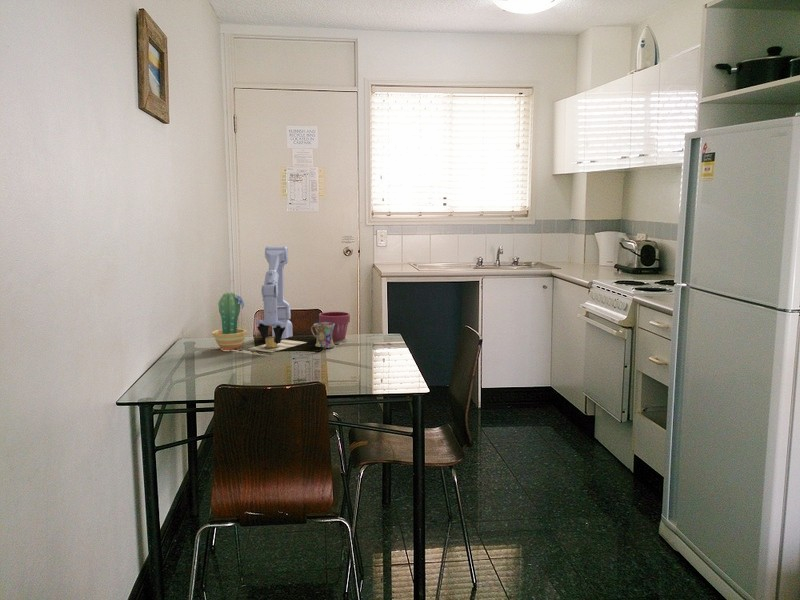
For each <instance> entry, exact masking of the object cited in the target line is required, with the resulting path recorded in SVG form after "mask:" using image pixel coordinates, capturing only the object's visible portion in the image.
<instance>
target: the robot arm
mask: <svg viewBox="0 0 800 600" xmlns="http://www.w3.org/2000/svg"><path fill="white" fill-rule="evenodd" d="M288 249H289V248H288V247H287V246H286V245H284V246H268V245H267V246H266V247H265V248H264V258H265V260H266V261H267V263H268V270H267V271H266V273H265V275H264V276H265V277H264V282H263V284H262V286H261V297H262V302H263V319H259V320H257V321H256V325H257V326H256V327H257V329H258V331H259V334H260V336H261V339H262V341H263V343H266V337H269V328H270V327H271V328H272V329H271V332H272V334H271V335H272V336H271V337H275V340H276V344H278V343H280V342H281V340H286V339H287V338H292V337H293V336H294V335H293V323H292V321H291V316H292V314H291V313H292V311H291V305H290V303H289V302H288V301H286V300H285V290H284V289H285V288H284V287H285V285H284V284H285V283H284V282H285V281H284V268H285V265H287V264H289V250H288Z"/></svg>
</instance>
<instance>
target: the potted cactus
mask: <svg viewBox="0 0 800 600" xmlns="http://www.w3.org/2000/svg"><path fill="white" fill-rule="evenodd" d="M217 304H218V313H219V316H220V318H221V329H216V330H212V331H211V334H212V337H213V338H214V339H215V342H216V344H217V345H218V347H219V349H220V348H221V349H223V350H237V349H239V348H240V347H241V346H242V345H243V343H244V341H245V339H246V336H247V335H248V330H247V329H244V328H238V321H239V315H240V312H241V310H243V309H244V307H245V301H244V299H243V298H242V297H241V295H236V294H235V293H233V292H226V293H223V294H222V296H221V297H220V299H219V300H218V302H217ZM237 351H238V350H237Z"/></svg>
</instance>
